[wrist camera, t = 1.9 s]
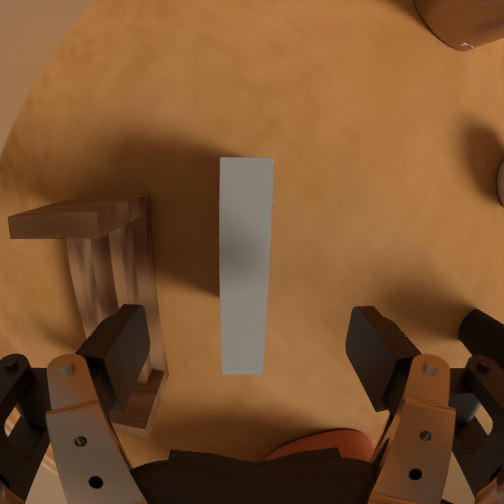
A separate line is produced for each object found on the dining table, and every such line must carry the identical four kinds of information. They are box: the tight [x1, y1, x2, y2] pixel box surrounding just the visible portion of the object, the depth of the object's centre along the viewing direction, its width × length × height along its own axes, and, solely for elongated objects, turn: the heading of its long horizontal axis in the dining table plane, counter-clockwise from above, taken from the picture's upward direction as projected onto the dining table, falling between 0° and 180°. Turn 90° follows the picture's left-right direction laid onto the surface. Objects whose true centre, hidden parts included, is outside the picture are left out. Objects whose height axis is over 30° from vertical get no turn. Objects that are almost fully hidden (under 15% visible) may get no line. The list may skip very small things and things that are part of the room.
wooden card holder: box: [8, 194, 169, 439], centre depth 20 cm, size 19×8×9 cm, turn 178°
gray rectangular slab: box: [219, 157, 274, 375], centre depth 19 cm, size 12×2×10 cm, turn 178°
